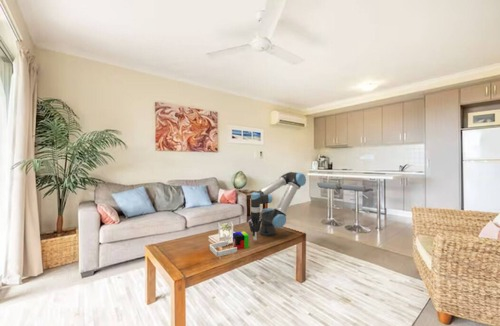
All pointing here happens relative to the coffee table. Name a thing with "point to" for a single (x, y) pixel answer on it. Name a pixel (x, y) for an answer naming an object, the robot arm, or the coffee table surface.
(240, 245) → the puzzle toy
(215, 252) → the tray
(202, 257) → the coffee table surface
